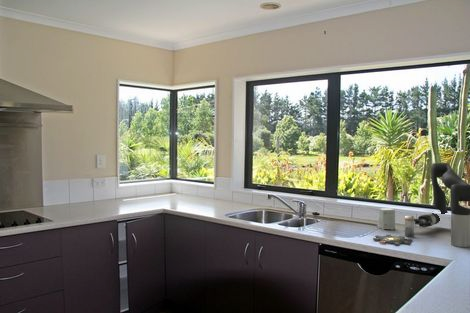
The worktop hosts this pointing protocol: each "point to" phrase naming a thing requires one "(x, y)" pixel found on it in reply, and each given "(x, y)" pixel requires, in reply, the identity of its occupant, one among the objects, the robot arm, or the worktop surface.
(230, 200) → the worktop surface
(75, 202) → the worktop surface
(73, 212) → the worktop surface
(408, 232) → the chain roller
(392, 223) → the small box
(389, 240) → the sprocket plate
